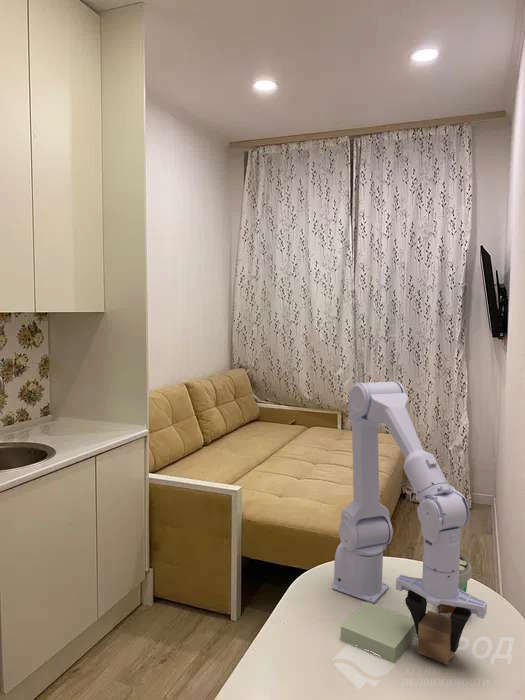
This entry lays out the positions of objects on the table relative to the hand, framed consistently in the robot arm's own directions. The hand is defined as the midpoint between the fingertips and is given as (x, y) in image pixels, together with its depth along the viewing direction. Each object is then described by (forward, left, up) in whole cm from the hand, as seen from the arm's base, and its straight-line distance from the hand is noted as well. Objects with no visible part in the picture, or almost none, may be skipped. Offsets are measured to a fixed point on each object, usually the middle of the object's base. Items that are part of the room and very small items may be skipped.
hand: (437, 642), depth 89 cm
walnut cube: (0, 0, -1) cm, 1 cm away
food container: (-2, +16, -3) cm, 16 cm away
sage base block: (-10, -1, -3) cm, 10 cm away
